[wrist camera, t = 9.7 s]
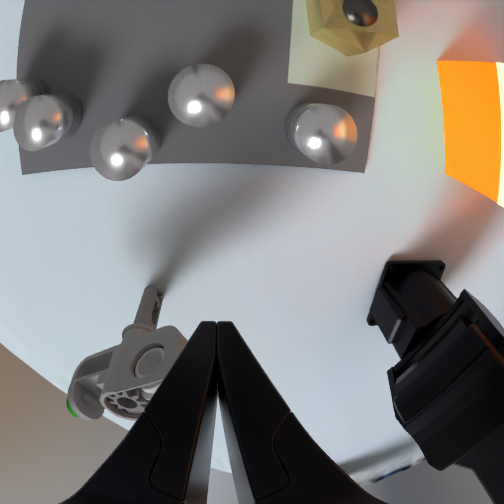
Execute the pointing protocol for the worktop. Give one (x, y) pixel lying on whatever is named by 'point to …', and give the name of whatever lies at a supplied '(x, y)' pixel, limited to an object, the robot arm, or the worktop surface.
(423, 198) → the worktop surface
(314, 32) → the nut
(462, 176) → the orange juice
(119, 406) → the mechanical component
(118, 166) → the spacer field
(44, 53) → the mat
